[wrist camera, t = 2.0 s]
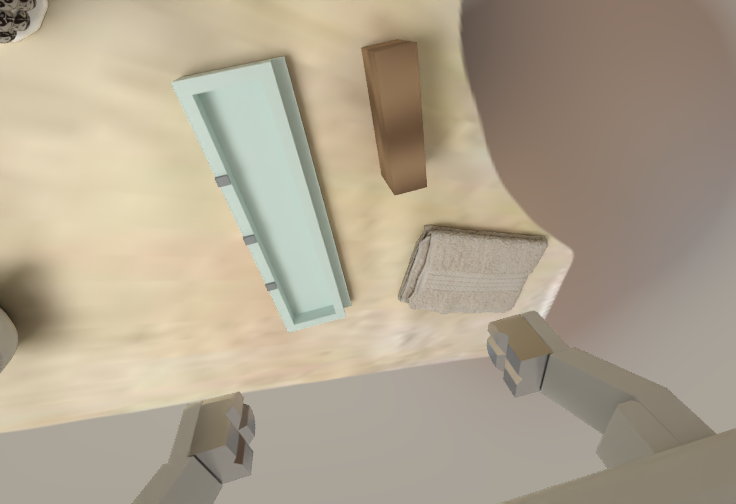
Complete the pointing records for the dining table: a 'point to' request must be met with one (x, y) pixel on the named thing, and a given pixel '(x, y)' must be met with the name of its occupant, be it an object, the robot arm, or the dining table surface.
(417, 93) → the wooden block
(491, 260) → the washcloth
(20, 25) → the decorative candle
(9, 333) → the teacup
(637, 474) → the robot arm
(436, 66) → the dining table surface
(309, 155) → the ledge
